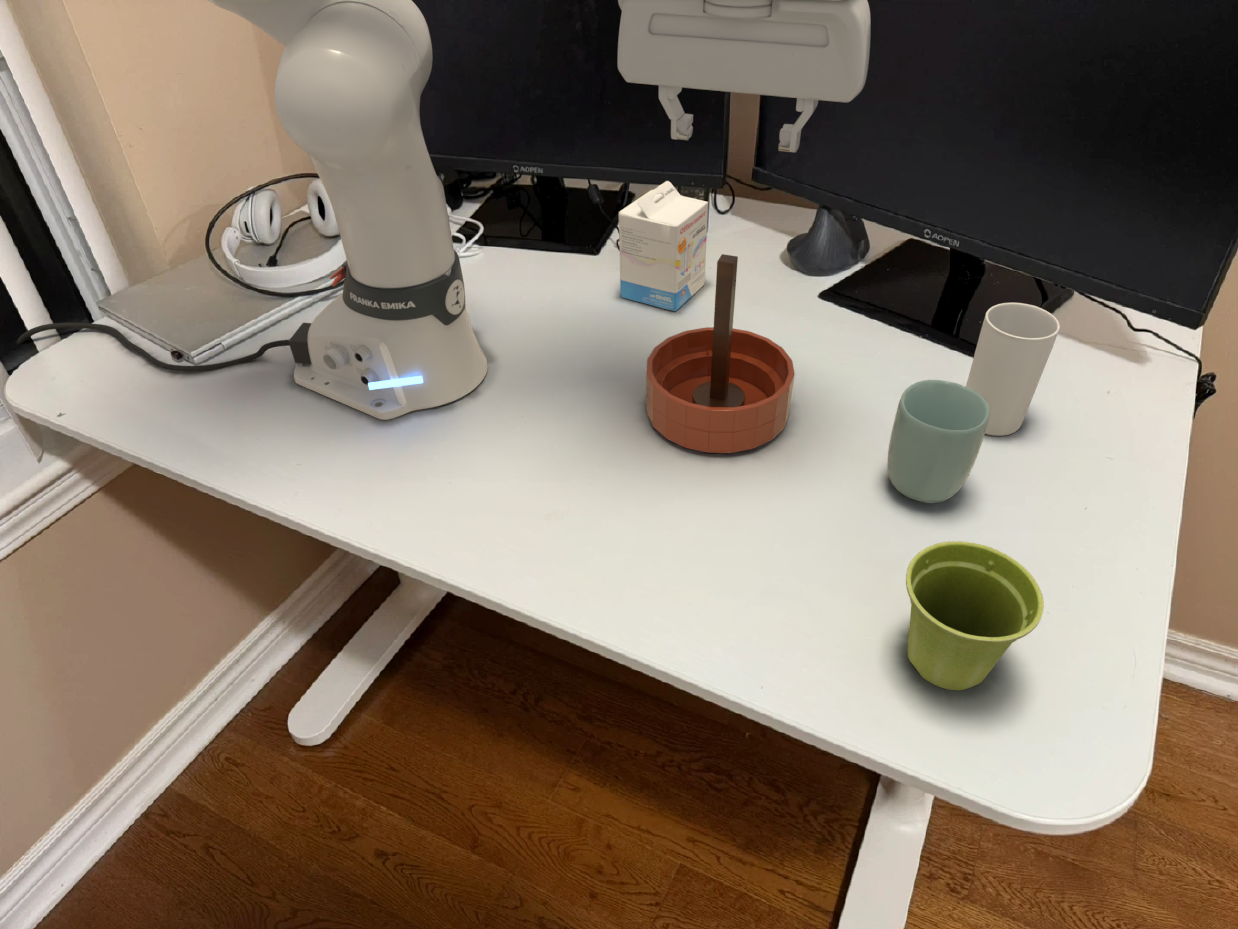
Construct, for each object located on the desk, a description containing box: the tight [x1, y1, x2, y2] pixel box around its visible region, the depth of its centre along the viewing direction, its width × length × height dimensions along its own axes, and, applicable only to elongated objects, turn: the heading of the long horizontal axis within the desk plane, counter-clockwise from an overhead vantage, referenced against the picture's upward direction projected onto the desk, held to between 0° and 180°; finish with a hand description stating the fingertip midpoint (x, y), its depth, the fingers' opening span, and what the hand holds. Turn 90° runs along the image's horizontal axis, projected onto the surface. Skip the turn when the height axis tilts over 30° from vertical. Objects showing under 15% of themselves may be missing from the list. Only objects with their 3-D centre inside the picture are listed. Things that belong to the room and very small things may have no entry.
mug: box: [965, 302, 1061, 437], centre depth 87 cm, size 10×7×12 cm, turn 145°
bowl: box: [645, 326, 796, 454], centre depth 90 cm, size 15×15×6 cm
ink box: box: [618, 180, 709, 312], centre depth 107 cm, size 9×8×13 cm
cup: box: [886, 379, 990, 504], centre depth 79 cm, size 8×8×10 cm
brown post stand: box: [692, 253, 745, 407], centre depth 85 cm, size 6×6×18 cm
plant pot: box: [905, 540, 1045, 691], centre depth 64 cm, size 9×9×9 cm
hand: (734, 143), depth 72 cm, fingers open, 8 cm apart
